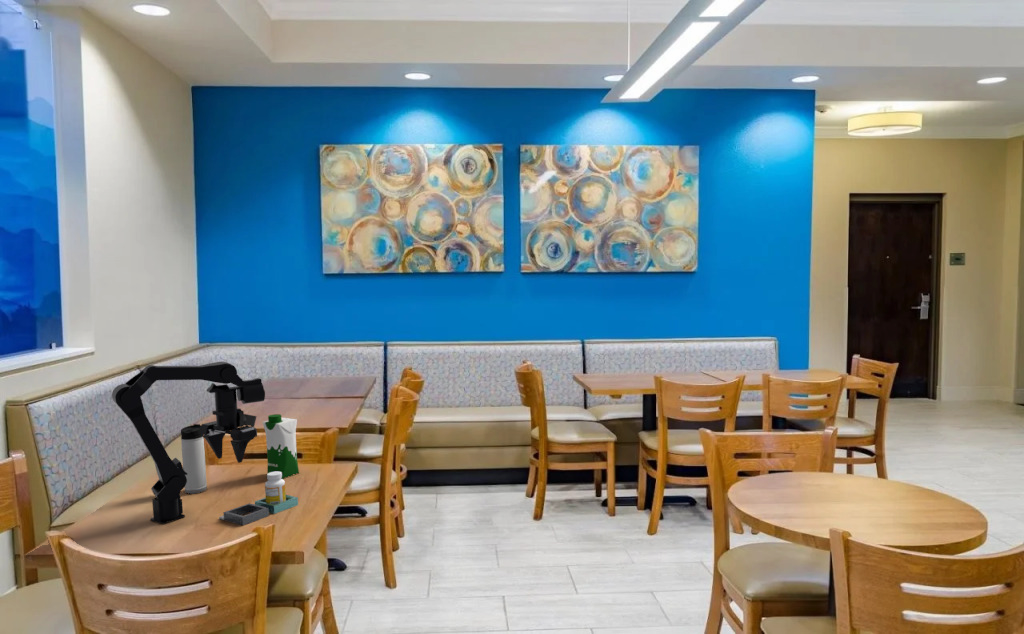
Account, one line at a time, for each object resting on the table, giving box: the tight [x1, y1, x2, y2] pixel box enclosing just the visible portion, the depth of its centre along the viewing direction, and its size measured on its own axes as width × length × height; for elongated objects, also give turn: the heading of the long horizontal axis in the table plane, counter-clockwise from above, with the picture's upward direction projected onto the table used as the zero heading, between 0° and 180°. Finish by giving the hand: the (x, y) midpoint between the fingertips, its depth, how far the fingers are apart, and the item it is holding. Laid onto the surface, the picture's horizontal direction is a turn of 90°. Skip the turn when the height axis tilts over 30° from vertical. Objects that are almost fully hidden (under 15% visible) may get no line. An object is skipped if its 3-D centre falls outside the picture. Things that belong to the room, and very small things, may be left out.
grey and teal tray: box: [218, 494, 299, 526], centre depth 201 cm, size 18×10×2 cm, turn 147°
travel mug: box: [180, 423, 208, 495], centre depth 221 cm, size 6×7×20 cm
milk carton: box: [262, 413, 300, 480], centre depth 235 cm, size 9×9×20 cm
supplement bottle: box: [264, 471, 287, 505], centre depth 204 cm, size 5×5×10 cm
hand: (229, 460), depth 207 cm, fingers open, 9 cm apart
